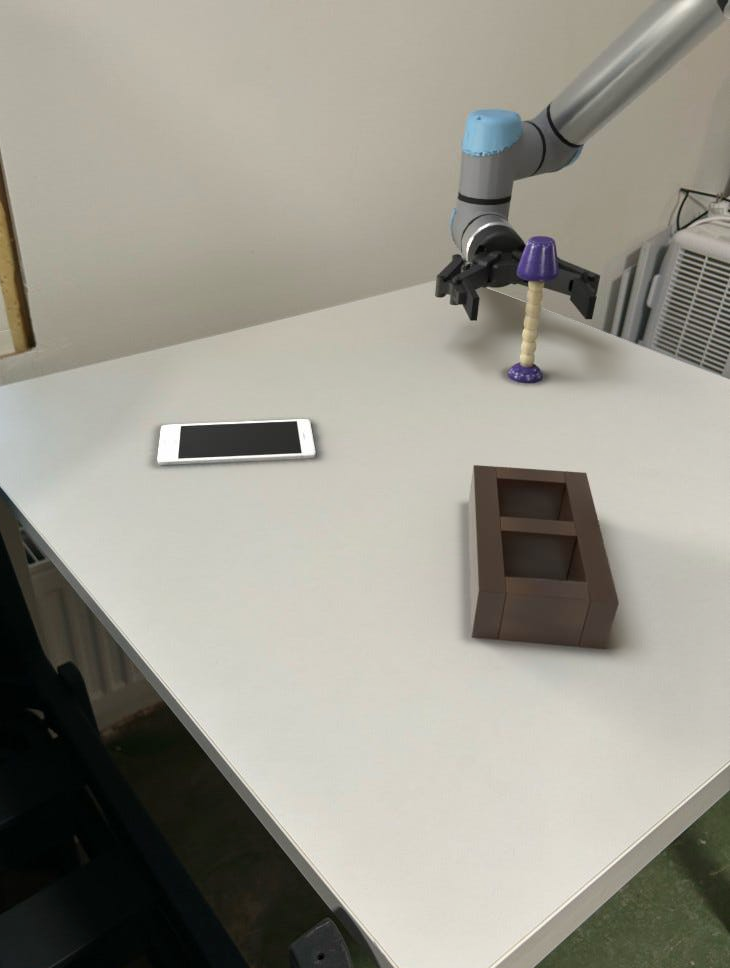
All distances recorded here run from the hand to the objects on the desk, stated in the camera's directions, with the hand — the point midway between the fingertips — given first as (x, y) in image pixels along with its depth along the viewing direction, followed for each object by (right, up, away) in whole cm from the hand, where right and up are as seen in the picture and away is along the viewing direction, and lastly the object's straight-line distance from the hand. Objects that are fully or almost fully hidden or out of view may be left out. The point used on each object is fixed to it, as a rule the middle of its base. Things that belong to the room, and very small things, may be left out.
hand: (533, 308), depth 95 cm
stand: (-7, -30, -25) cm, 40 cm away
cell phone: (-33, -17, -8) cm, 38 cm away
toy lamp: (0, -7, +6) cm, 9 cm away
